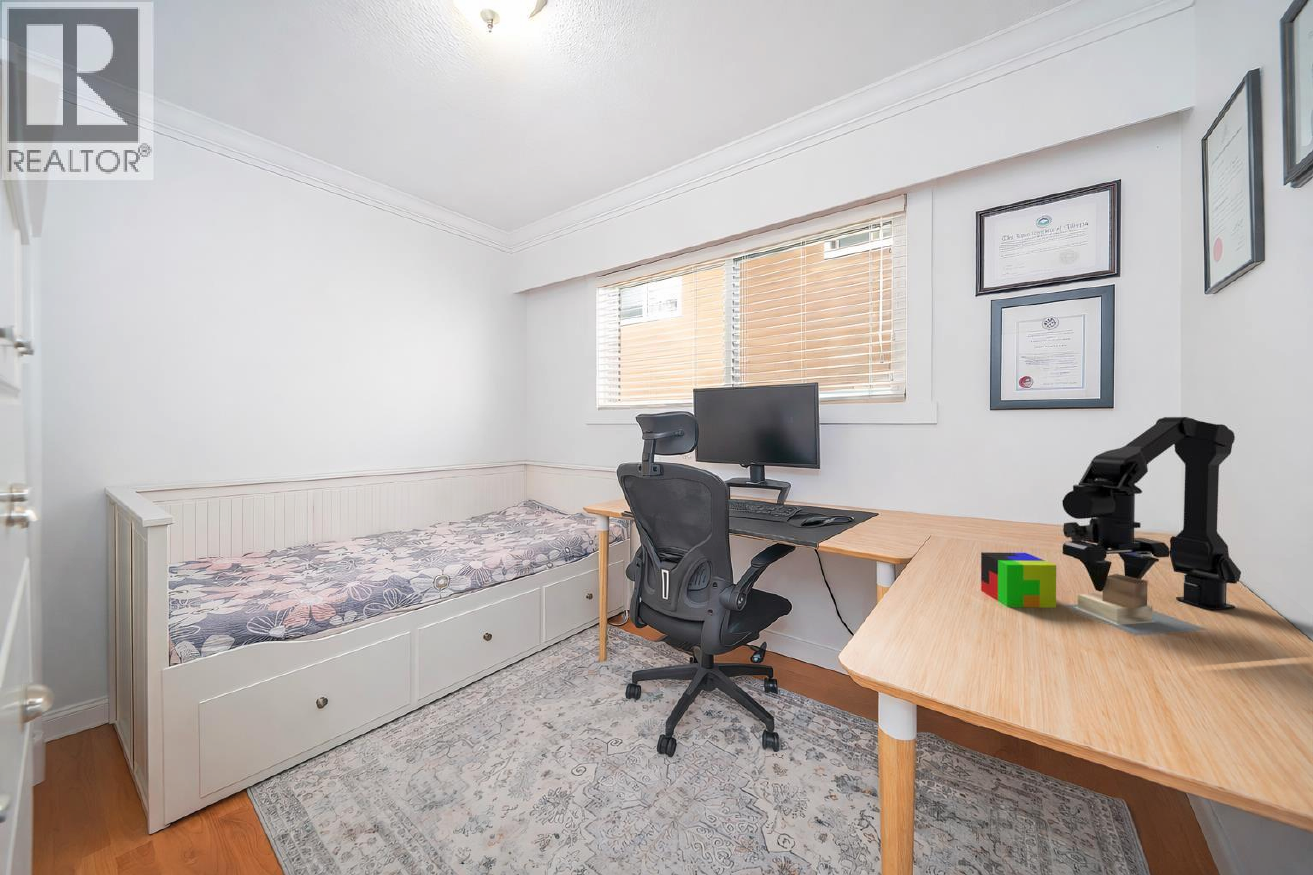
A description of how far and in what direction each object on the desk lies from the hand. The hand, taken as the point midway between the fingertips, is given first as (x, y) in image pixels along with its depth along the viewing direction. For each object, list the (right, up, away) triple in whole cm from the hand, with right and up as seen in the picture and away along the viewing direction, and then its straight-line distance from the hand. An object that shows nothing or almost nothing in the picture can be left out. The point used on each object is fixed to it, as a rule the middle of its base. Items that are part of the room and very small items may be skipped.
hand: (1114, 589), depth 101 cm
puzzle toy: (-13, -6, +10) cm, 17 cm away
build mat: (+2, -6, -1) cm, 6 cm away
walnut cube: (+1, -2, -2) cm, 3 cm away
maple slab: (0, -5, 0) cm, 5 cm away
